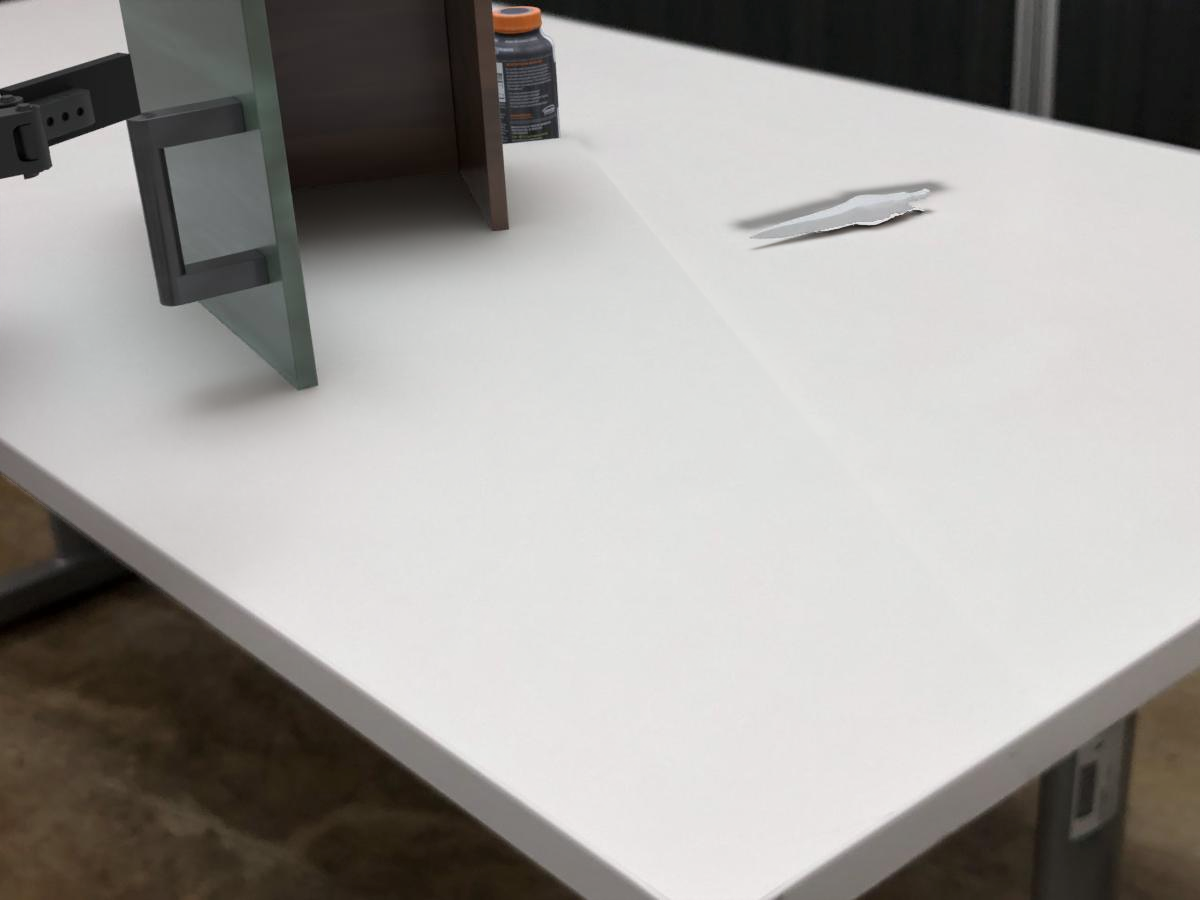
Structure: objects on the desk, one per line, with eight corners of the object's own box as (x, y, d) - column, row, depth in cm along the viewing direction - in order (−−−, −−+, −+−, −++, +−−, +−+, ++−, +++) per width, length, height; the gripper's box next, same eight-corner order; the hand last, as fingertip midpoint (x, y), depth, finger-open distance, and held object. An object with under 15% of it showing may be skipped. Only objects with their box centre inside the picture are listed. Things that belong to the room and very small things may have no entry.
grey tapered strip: (917, 204, 114) (918, 179, 113) (939, 214, 112) (941, 189, 111) (739, 243, 108) (738, 217, 108) (759, 255, 106) (759, 228, 105)
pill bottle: (569, 137, 134) (561, 1, 128) (550, 157, 129) (542, 17, 123) (501, 135, 135) (491, 1, 130) (481, 155, 130) (470, 17, 125)
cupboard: (510, 251, 109) (482, -119, 98) (181, 292, 105) (113, -89, 94) (474, 185, 123) (446, -146, 112) (182, 218, 119) (123, -121, 108)
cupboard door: (201, 443, 84) (117, -17, 73) (85, 317, 101) (3, -71, 90) (322, 409, 87) (259, -37, 76) (190, 292, 104) (123, -86, 93)
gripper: (-564, 253, 65) (-121, 118, 81) (-203, 365, 53) (237, 181, 69) (-640, 72, 61) (-160, -32, 77) (-270, 149, 49) (209, 7, 65)
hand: (27, 68), depth 73 cm, fingers open, 13 cm apart
